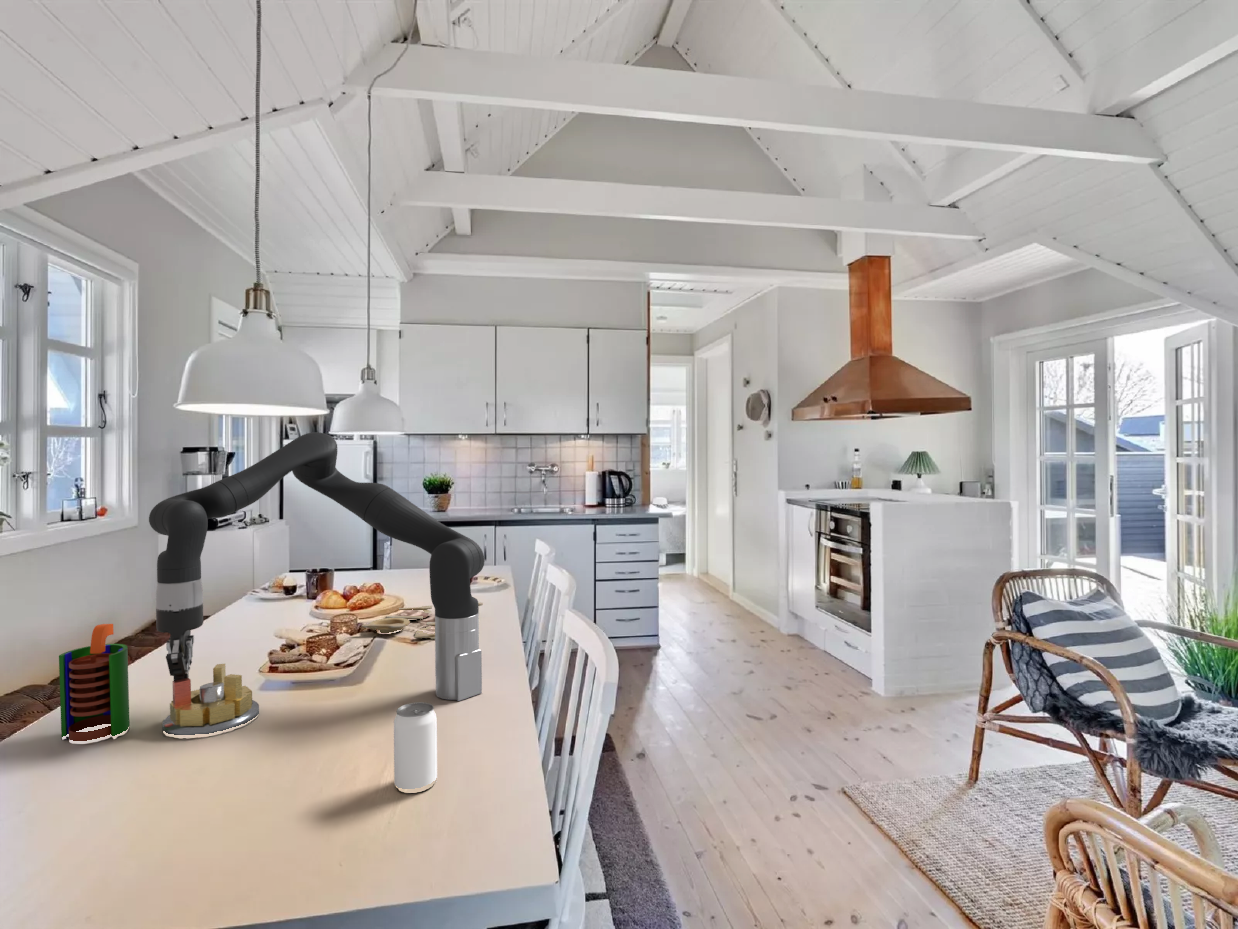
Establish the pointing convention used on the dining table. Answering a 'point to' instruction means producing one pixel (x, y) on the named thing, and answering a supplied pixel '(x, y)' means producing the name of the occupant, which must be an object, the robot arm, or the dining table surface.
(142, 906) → the dining table surface
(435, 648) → the robot arm
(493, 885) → the dining table surface
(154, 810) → the dining table surface
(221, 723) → the rotating turntable
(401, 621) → the tableware set
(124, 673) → the motor
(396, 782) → the can
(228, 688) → the wooden blocks on tray
